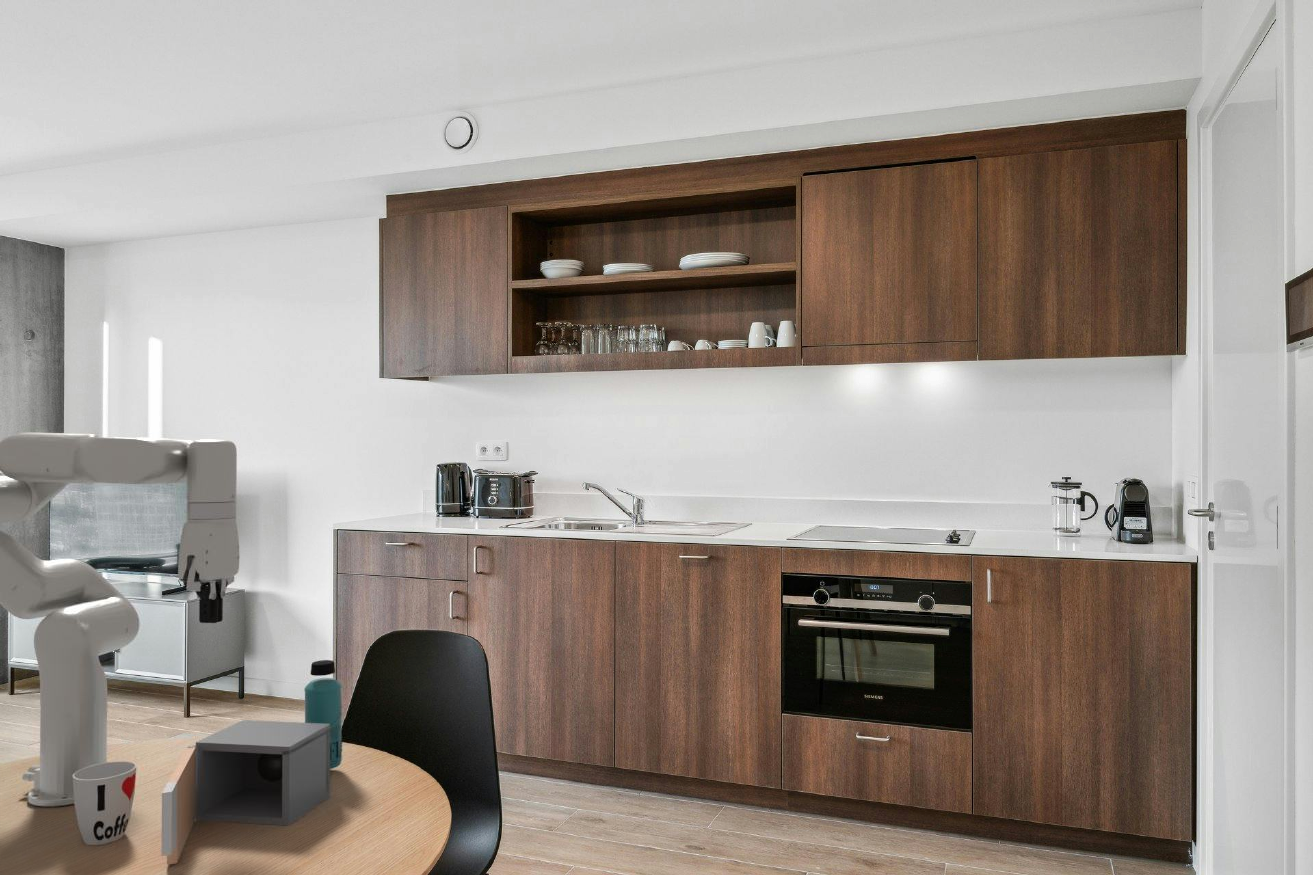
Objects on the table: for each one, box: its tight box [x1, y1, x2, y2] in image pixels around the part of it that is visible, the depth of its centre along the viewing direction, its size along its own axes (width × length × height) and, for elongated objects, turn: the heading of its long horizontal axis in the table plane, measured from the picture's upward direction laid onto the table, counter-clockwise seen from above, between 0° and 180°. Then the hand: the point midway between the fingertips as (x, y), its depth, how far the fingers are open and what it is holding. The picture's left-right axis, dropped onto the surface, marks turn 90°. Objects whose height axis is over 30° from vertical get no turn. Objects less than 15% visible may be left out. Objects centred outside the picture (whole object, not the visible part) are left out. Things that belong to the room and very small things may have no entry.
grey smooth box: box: [195, 719, 331, 826], centre depth 143 cm, size 16×12×12 cm
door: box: [160, 745, 196, 866], centre depth 128 cm, size 21×1×11 cm, turn 19°
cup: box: [73, 760, 137, 846], centre depth 132 cm, size 8×8×10 cm
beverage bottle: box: [304, 659, 343, 770], centre depth 159 cm, size 6×7×20 cm
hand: (210, 621), depth 148 cm, fingers closed
